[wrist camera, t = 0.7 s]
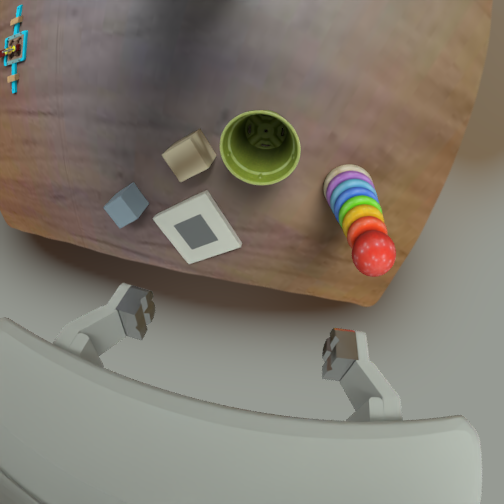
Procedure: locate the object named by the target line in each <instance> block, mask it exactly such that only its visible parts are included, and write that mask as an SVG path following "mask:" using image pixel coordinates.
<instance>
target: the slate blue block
mask: <svg viewBox="0 0 504 504" xmlns="http://www.w3.org/2000/svg"><path fill="white" fill-rule="evenodd" d="M148 204H149V203H148V201H147V200H146V199H145V197H144V196H143V194H142V193H141V192H140V190H139V189H138V188H137V186H136V185H135V183H134V182H133V183H131V184H130V185H128V186H127V187H125V188H124V189H122V190H121V191H119V192H118V193H116V194H115V195H114V196H113V198H112V199H111V200H110V201H109V202H108V203H107V204H106V205H105V206H104V207H103V208H104V209H105V210H106V212H107V213H108V214H109V216H110V217H111V218H112V219H113V221H114V222H115V223H116V224H117V226H118V227H119V228H122V227H124V226H125V225H127V224H129V223H131V222H133V221H135V220H136V219H138V218H139V216H140V215H141V214H142V212H143V211H144V210H145V208H146V207H147V206H148Z"/></svg>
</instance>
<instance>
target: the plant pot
mask: <svg viewBox="0 0 504 504" xmlns="http://www.w3.org/2000/svg"><path fill="white" fill-rule="evenodd" d="M262 114H264V115H269V116H262ZM249 125H251V133H249V132H248V127H249ZM282 127H283V128H284V135H283V136H281V132H282ZM265 129H267V130H268V132H264V130H265ZM261 144H265V145H270V146H269V147H264V146H261ZM300 152H301V147H300V141H299V138H298V135H297V133H296V131H295V130H294V128H293V127H292V125H291V124H290V123H289V122H288V121H287V120H285V119H284V118H283V117H281V116H280V115H279V114H277V113H275V112H273V111H269V110H254V111H248V112H245V113H242V114H240V115H238V116H236V117H235V118H233V119H232V120H231V121H230V122H229V123H228V124H227V125H226V127H225V128H224V130H223V132H222V135H221V138H220V154H221V157H222V160H223V162H224V164H225V166H226V167H227V169H228V170H229V171H230V172H231V173H232V174H233V175H234V176H235V177H237V178H238V179H240V180H242V181H244V182H246V183H249V184H253V185H270V184H274V183H277V182H279V181H281V180H283V179H285V178H286V177H287V176H289V175H290V174H291V173H292V172H293V171H294V169H295V168H296V166H297V164H298V161H299V158H300Z"/></svg>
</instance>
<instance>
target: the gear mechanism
mask: <svg viewBox="0 0 504 504" xmlns="http://www.w3.org/2000/svg"><path fill="white" fill-rule="evenodd" d="M22 6H23V5H20V6H18V7H17V13H16V18H14V19H12V20H11V25H15V28H14V35H13V36H10V37H8V38H6V40H5V49H4V50H1V51H0V57H3V56H4V66H7V65H10V64H12V75H11V76H8V77H7V82H12V93H16V92H17V80H18V79H19V73H18V74H17V62H20V61H23V60H25V59H26V49H27V36H28V31H27V30H26V31H22V32H20V33H19V27H20V22H22V20H23V16H21V12H22ZM11 25H10V26H11ZM20 38H22V46H21V44H19V43H18V41H19V39H20ZM12 41H15V43H14V46H11V44H12ZM8 42H9V46H8ZM21 48H22V50H21V54H20V56H18V51H19V50H20V49H21ZM11 53H14V54H13V55H14V57H13V58H11V57H10V56H11ZM7 59H8V62H7Z"/></svg>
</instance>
